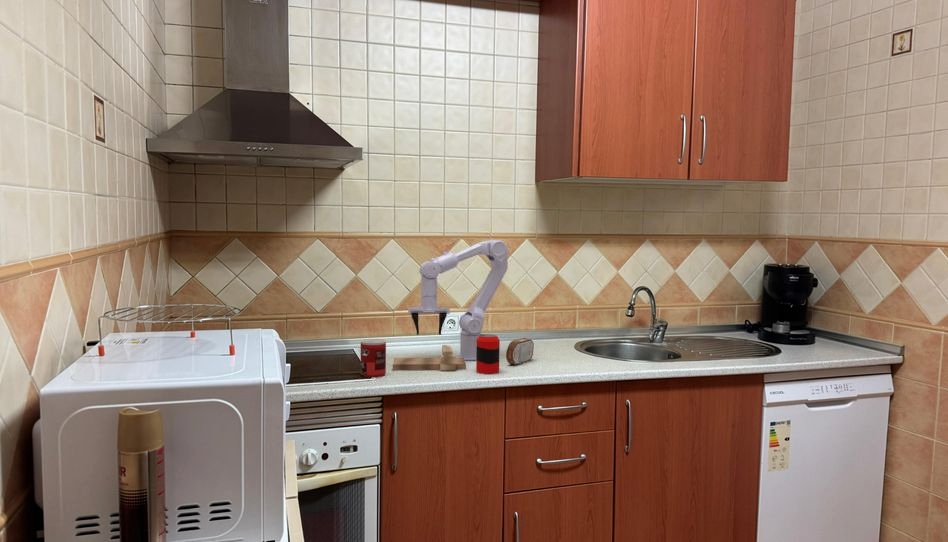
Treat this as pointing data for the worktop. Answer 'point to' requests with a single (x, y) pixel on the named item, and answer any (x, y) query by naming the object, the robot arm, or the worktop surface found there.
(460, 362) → the board
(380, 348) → the canned food
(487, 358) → the soda can
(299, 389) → the worktop surface
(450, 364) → the wooden block
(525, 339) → the tin
